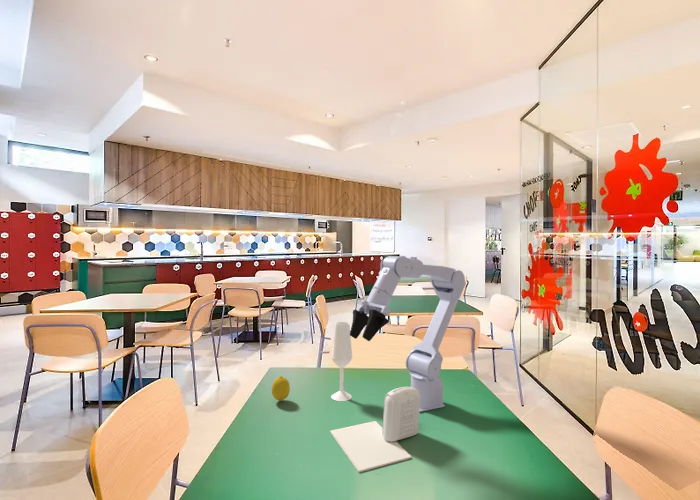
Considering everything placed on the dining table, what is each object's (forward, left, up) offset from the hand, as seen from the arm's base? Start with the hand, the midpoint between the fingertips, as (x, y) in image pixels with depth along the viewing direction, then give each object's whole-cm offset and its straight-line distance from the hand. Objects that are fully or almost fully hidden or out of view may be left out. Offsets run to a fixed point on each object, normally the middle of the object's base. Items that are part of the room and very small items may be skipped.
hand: (359, 338), depth 94 cm
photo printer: (-9, +6, -25) cm, 27 cm away
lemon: (+15, -26, -25) cm, 39 cm away
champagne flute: (-4, -22, -25) cm, 34 cm away
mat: (0, +6, -25) cm, 26 cm away
